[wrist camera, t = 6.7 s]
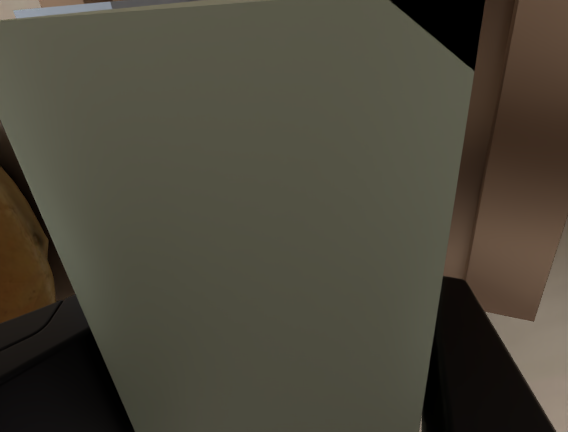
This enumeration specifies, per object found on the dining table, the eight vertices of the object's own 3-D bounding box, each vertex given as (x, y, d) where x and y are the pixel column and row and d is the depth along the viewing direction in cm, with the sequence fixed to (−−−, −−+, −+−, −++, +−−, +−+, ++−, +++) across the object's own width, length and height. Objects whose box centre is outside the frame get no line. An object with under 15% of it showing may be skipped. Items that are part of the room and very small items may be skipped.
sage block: (243, -4, 7) (-42, 24, 3) (487, -25, 6) (488, -15, 2) (284, 368, 12) (188, 556, 8) (421, 411, 11) (382, 665, 7)
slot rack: (528, 278, 16) (534, 321, 14) (148, 213, 24) (118, 235, 22) (634, -91, 10) (669, -105, 8) (82, -21, 18) (32, -21, 16)
